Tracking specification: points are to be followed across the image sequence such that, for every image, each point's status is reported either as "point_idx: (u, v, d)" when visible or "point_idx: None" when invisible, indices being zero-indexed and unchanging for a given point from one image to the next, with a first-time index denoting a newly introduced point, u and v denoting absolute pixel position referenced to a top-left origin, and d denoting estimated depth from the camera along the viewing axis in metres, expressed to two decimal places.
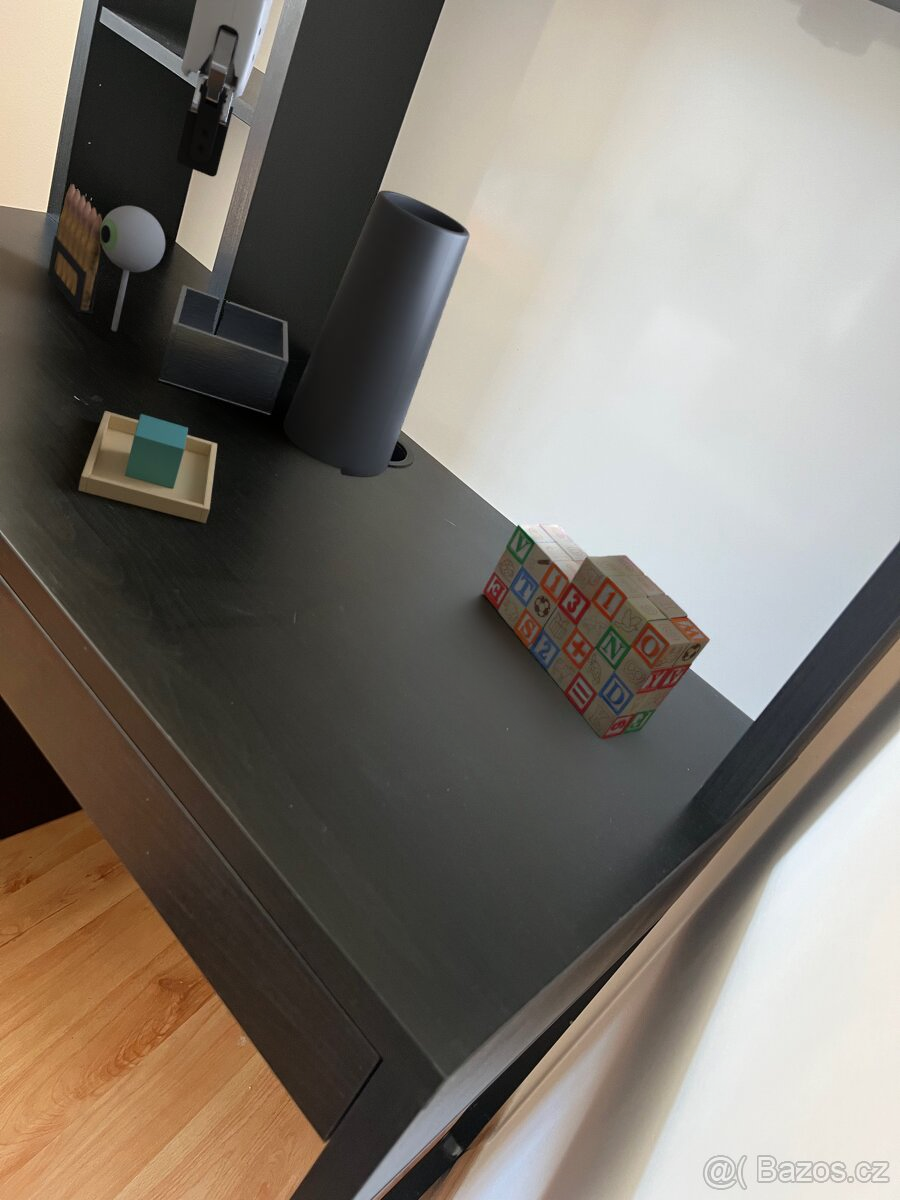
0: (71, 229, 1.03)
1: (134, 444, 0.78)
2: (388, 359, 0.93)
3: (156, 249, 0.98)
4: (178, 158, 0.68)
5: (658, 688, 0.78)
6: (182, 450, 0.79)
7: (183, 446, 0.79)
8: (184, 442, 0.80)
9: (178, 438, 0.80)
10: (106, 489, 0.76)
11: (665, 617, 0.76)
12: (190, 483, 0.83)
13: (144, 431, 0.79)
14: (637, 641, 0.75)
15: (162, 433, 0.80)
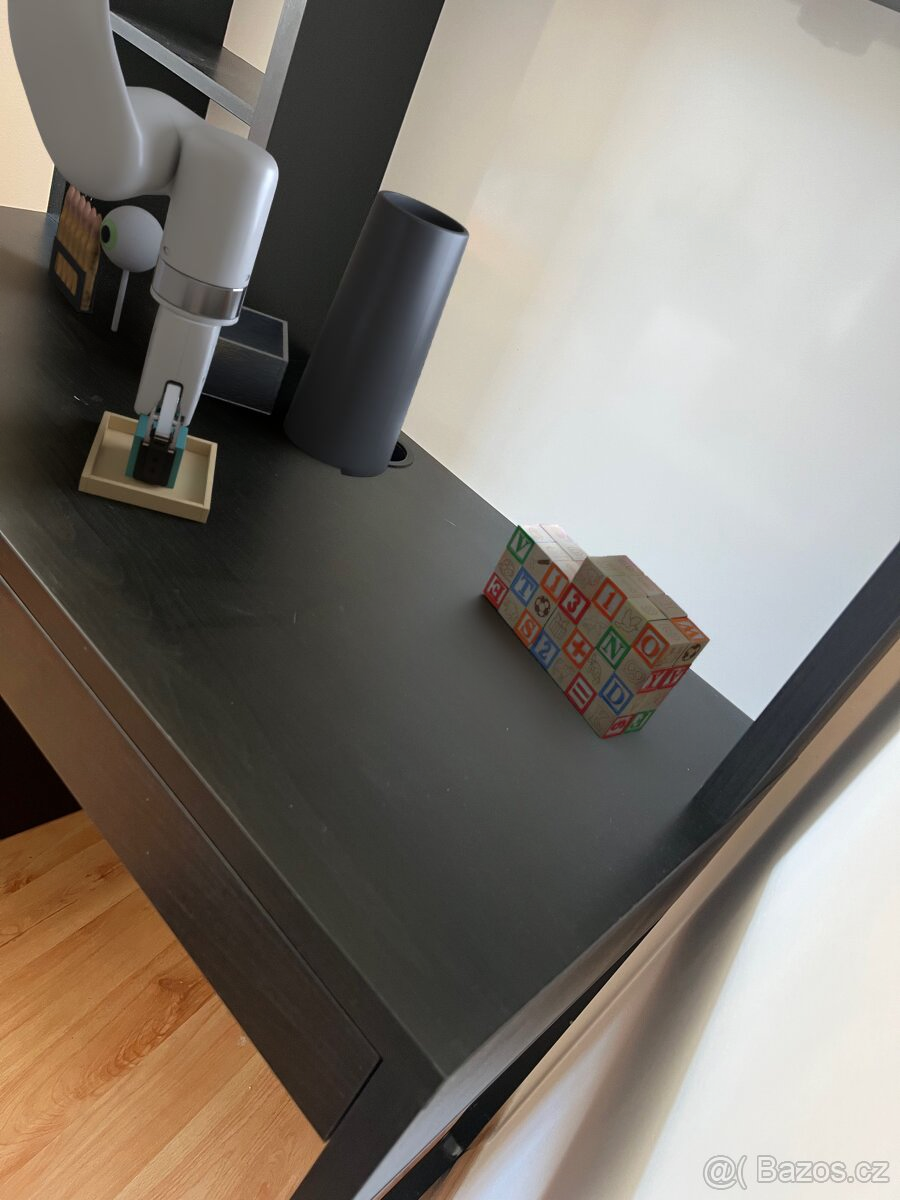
0: (71, 229, 1.03)
1: (134, 444, 0.78)
2: (388, 359, 0.93)
3: (156, 249, 0.98)
4: (133, 475, 0.79)
5: (658, 688, 0.78)
6: (182, 450, 0.79)
7: (183, 446, 0.79)
8: (184, 442, 0.80)
9: (178, 438, 0.80)
10: (106, 489, 0.76)
11: (665, 617, 0.76)
12: (190, 483, 0.83)
13: (144, 431, 0.79)
14: (637, 642, 0.75)
15: None
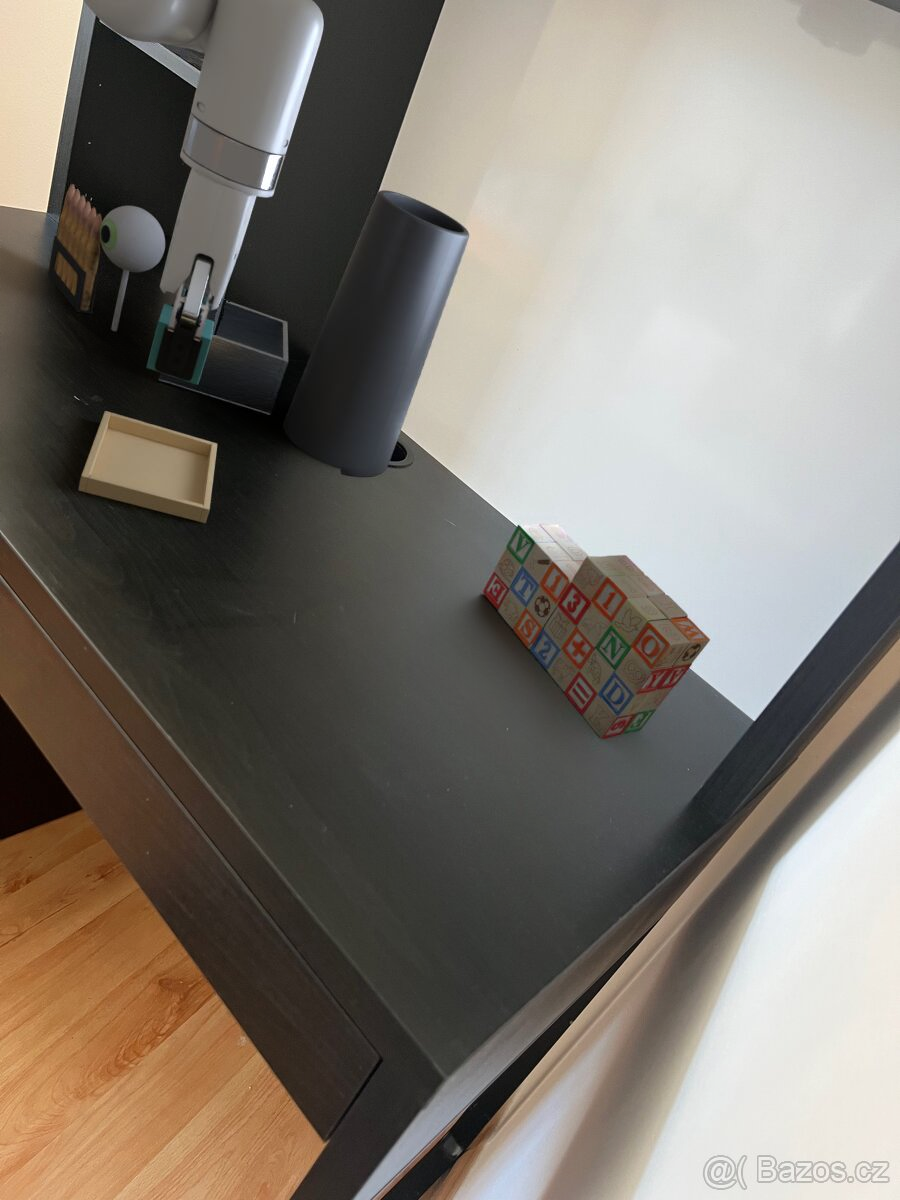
0: (71, 229, 1.03)
1: (158, 331, 0.73)
2: (388, 359, 0.93)
3: (156, 249, 0.98)
4: (156, 366, 0.74)
5: (658, 688, 0.78)
6: (209, 341, 0.74)
7: (210, 337, 0.74)
8: (211, 333, 0.75)
9: (205, 329, 0.75)
10: (106, 489, 0.76)
11: (665, 617, 0.76)
12: (190, 483, 0.83)
13: (168, 319, 0.73)
14: (637, 642, 0.75)
15: None
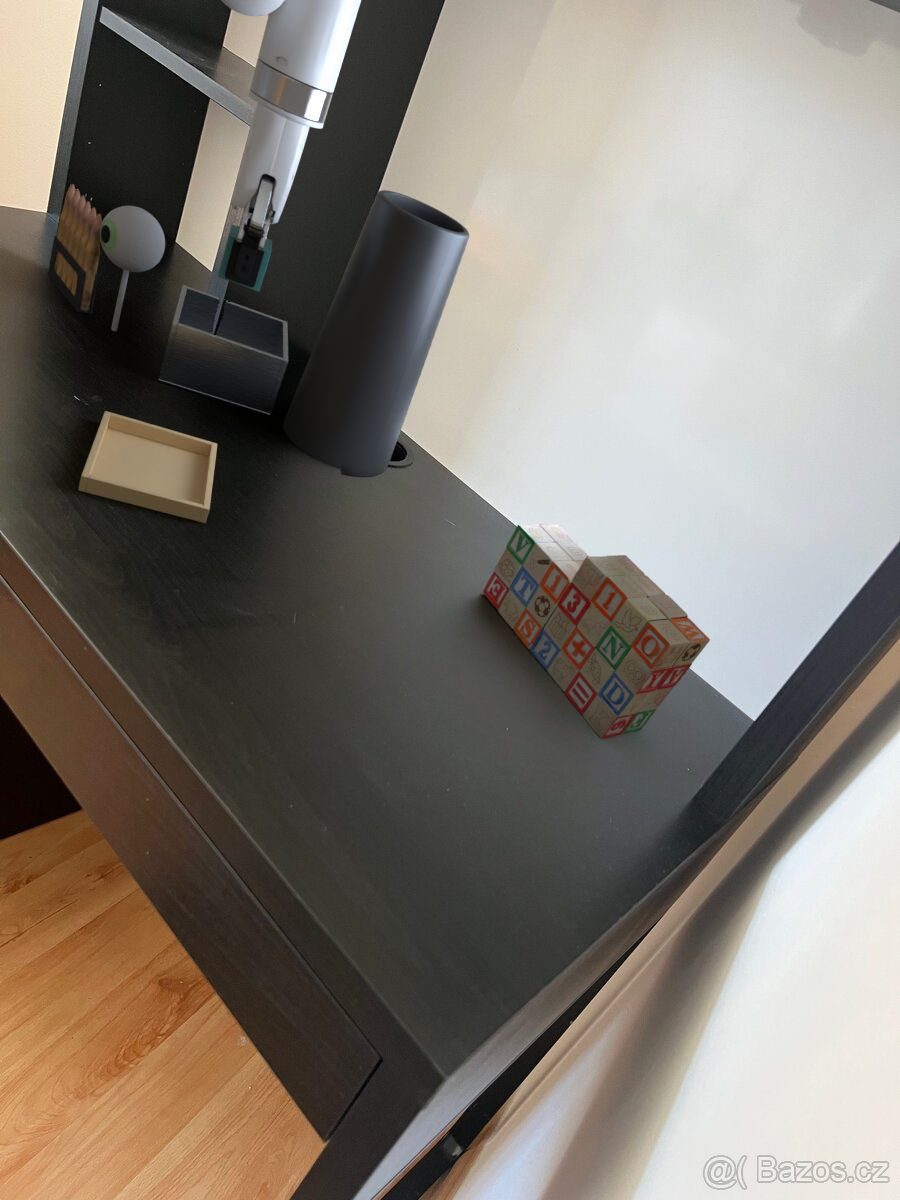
0: (71, 229, 1.03)
1: (228, 244, 0.88)
2: (388, 359, 0.93)
3: (156, 249, 0.98)
4: (226, 275, 0.89)
5: (658, 688, 0.78)
6: (269, 252, 0.89)
7: (270, 250, 0.90)
8: (270, 248, 0.90)
9: (265, 244, 0.90)
10: (106, 489, 0.76)
11: (665, 617, 0.76)
12: (190, 483, 0.83)
13: (236, 235, 0.89)
14: (637, 642, 0.75)
15: None
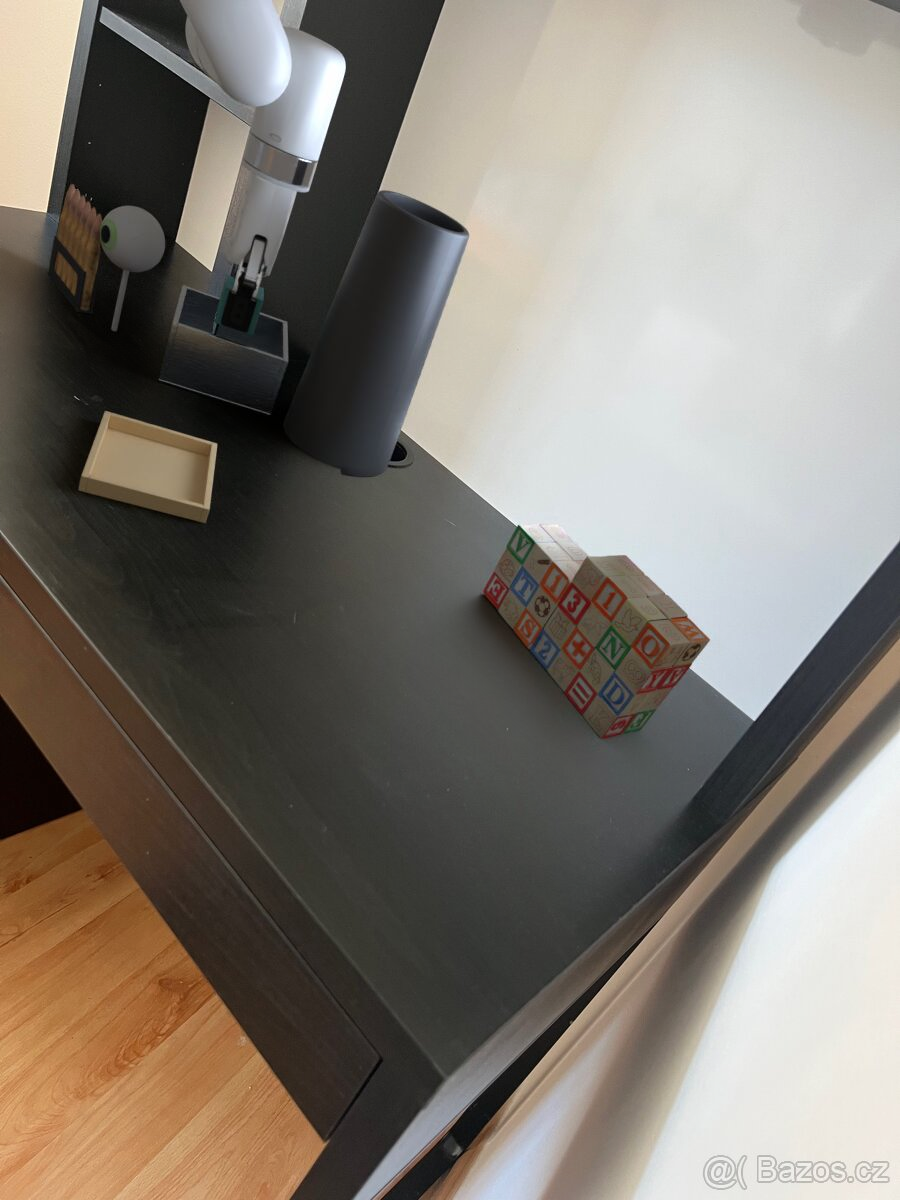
0: (71, 229, 1.03)
1: (224, 294, 0.97)
2: (388, 359, 0.93)
3: (156, 249, 0.98)
4: (222, 322, 0.98)
5: (658, 688, 0.78)
6: (261, 301, 0.98)
7: (262, 298, 0.99)
8: (262, 296, 0.99)
9: (258, 293, 0.99)
10: (106, 489, 0.76)
11: (665, 617, 0.76)
12: (190, 483, 0.83)
13: (231, 285, 0.98)
14: (637, 642, 0.75)
15: None
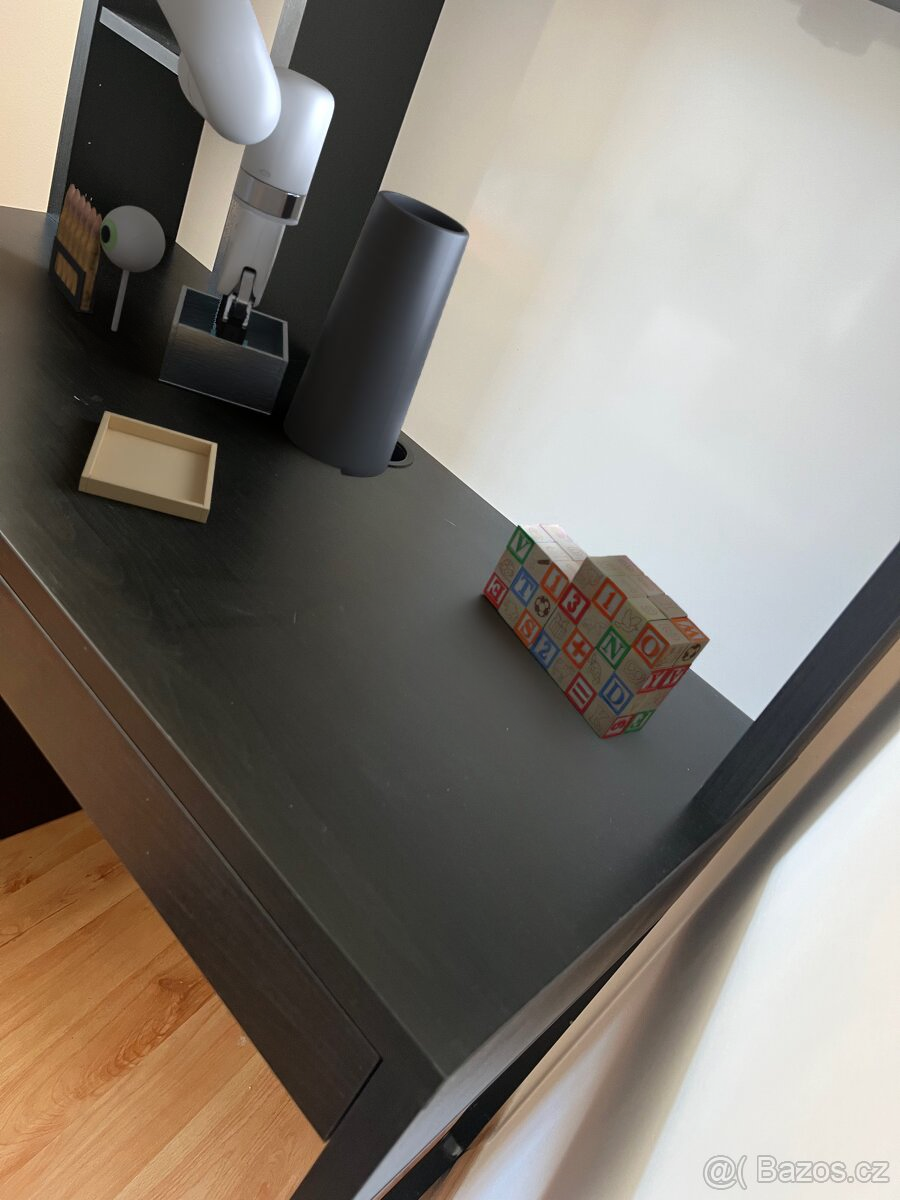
0: (71, 229, 1.03)
1: None
2: (388, 359, 0.93)
3: (156, 249, 0.98)
4: None
5: (658, 688, 0.78)
6: None
7: None
8: None
9: None
10: (106, 489, 0.76)
11: (665, 617, 0.76)
12: (190, 483, 0.83)
13: None
14: (637, 642, 0.75)
15: None
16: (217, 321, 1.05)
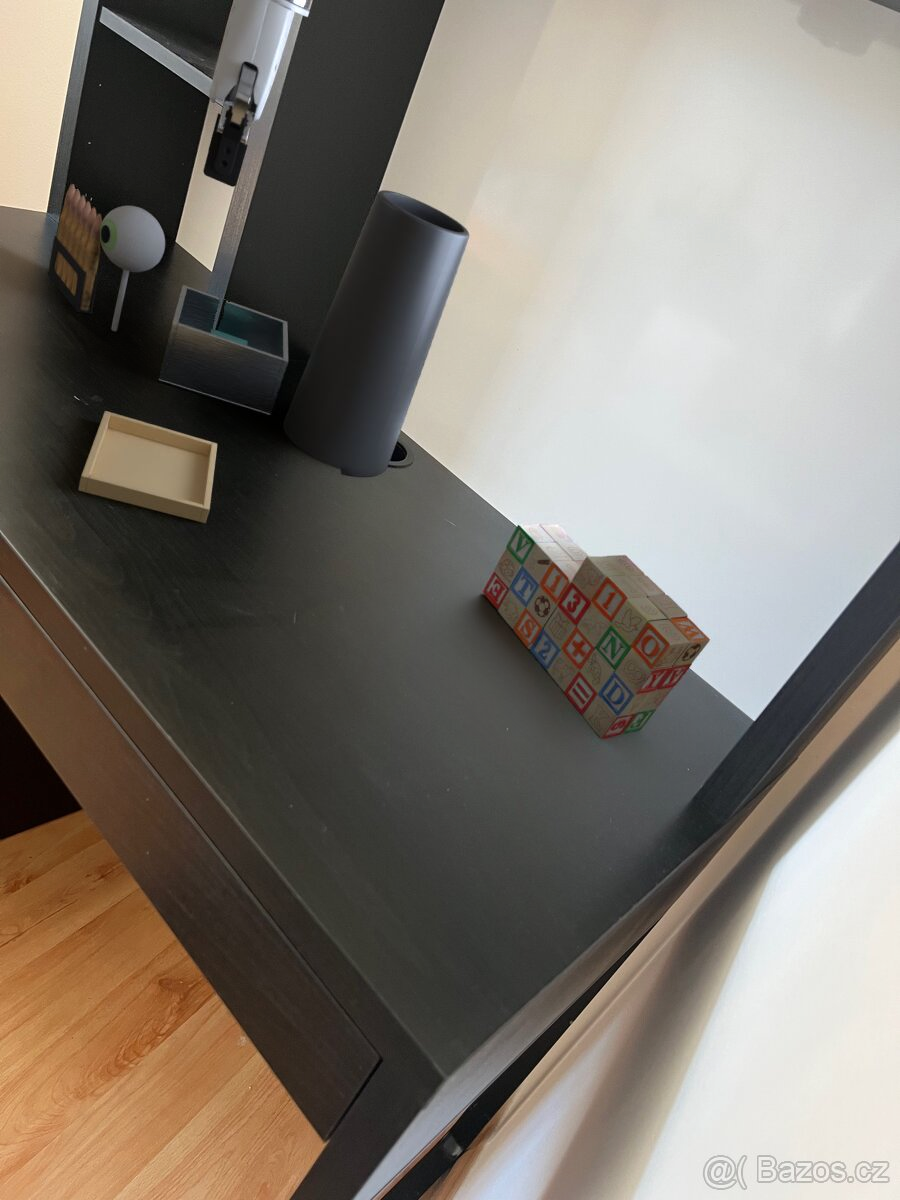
0: (71, 229, 1.03)
1: None
2: (388, 359, 0.93)
3: (156, 249, 0.98)
4: (204, 171, 0.81)
5: (658, 688, 0.78)
6: None
7: None
8: None
9: None
10: (106, 489, 0.76)
11: (665, 617, 0.76)
12: (190, 483, 0.83)
13: None
14: (637, 642, 0.75)
15: None
16: None
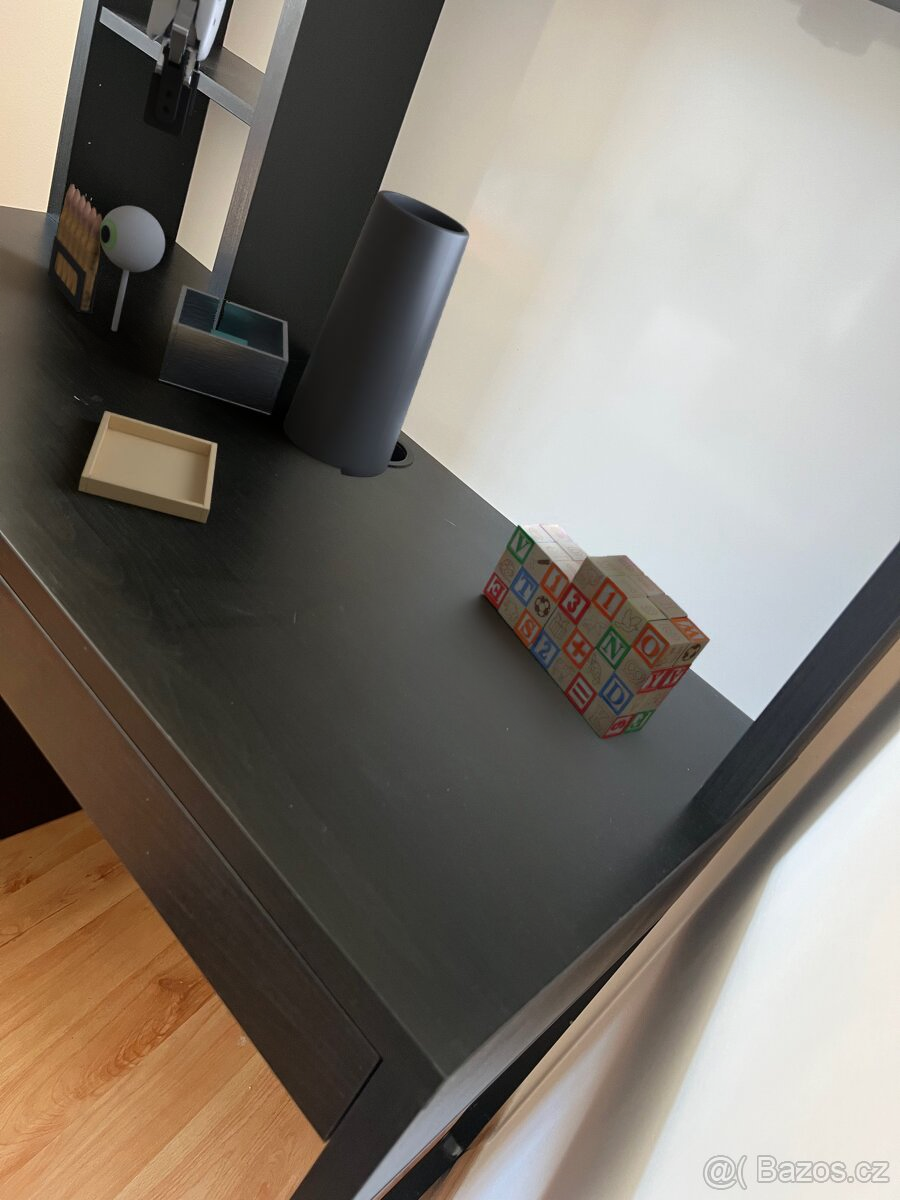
0: (71, 229, 1.03)
1: None
2: (388, 359, 0.93)
3: (156, 249, 0.98)
4: (144, 119, 0.72)
5: (658, 688, 0.78)
6: None
7: None
8: None
9: None
10: (106, 489, 0.76)
11: (665, 617, 0.76)
12: (190, 483, 0.83)
13: None
14: (637, 642, 0.75)
15: None
16: None
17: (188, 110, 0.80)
